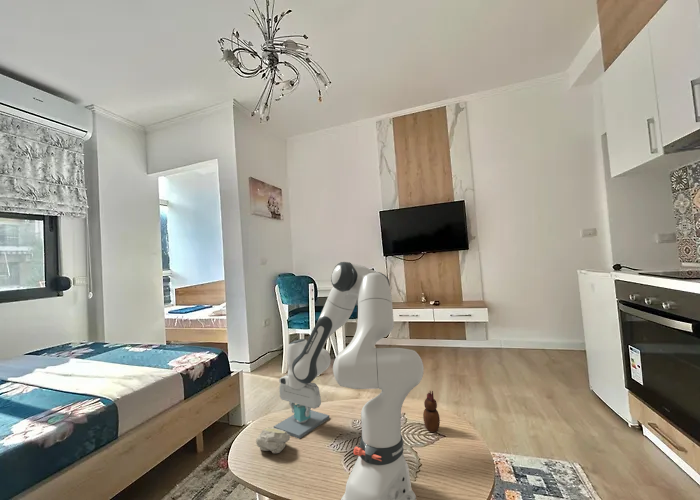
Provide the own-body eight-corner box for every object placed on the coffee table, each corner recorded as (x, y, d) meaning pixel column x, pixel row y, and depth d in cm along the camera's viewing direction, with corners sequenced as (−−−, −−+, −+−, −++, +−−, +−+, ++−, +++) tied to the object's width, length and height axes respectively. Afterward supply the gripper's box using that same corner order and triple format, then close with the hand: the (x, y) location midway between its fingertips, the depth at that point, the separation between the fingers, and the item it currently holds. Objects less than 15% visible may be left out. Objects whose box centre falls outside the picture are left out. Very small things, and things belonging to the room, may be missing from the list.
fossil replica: (261, 442, 118) (252, 461, 108) (258, 421, 117) (249, 438, 107) (293, 439, 117) (287, 457, 107) (290, 417, 117) (284, 433, 107)
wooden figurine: (442, 434, 117) (439, 392, 118) (426, 434, 117) (423, 393, 118) (437, 424, 124) (435, 385, 124) (422, 425, 124) (420, 386, 124)
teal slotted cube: (310, 417, 130) (309, 404, 130) (300, 421, 127) (299, 408, 127) (304, 413, 134) (303, 401, 134) (294, 417, 131) (293, 404, 131)
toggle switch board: (299, 438, 119) (298, 423, 119) (273, 429, 127) (273, 414, 127) (329, 418, 133) (328, 404, 134) (304, 411, 141) (304, 398, 142)
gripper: (323, 381, 127) (325, 416, 127) (287, 373, 139) (288, 405, 138) (312, 386, 122) (314, 423, 121) (276, 378, 134) (277, 411, 133)
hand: (300, 414), depth 130 cm, fingers closed on teal slotted cube, 5 cm apart
